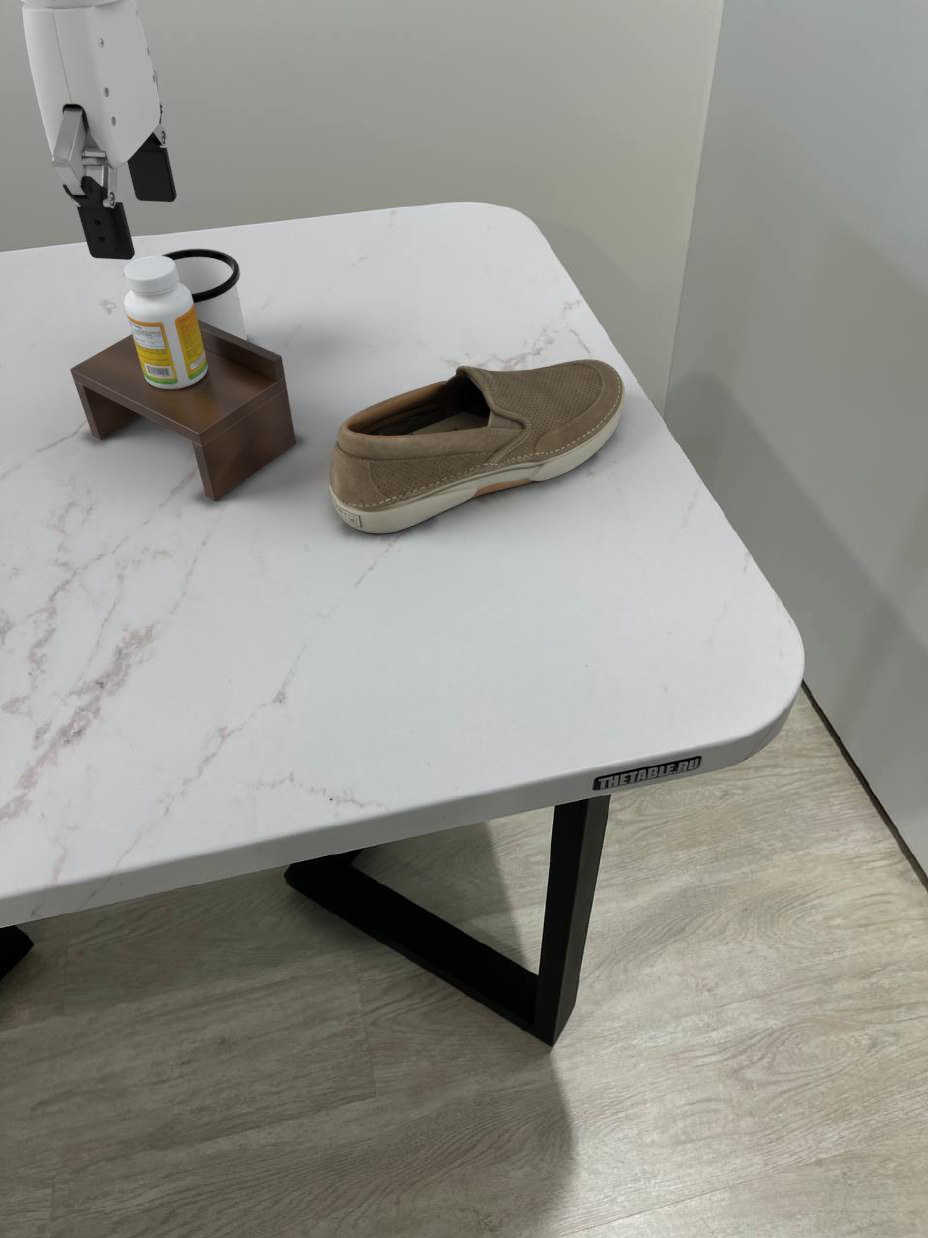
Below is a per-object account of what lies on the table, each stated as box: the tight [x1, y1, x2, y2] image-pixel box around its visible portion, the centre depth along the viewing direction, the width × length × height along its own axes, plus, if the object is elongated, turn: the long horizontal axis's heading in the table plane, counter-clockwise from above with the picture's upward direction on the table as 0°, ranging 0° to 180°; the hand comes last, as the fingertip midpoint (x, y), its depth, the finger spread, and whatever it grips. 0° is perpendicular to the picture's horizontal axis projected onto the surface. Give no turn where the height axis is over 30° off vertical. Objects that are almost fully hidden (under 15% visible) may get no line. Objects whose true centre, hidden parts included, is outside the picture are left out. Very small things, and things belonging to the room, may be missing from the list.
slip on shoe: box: [328, 358, 626, 534], centre depth 86 cm, size 30×11×9 cm, turn 121°
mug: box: [160, 248, 248, 341], centre depth 99 cm, size 12×10×9 cm
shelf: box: [69, 319, 297, 502], centre depth 89 cm, size 10×16×9 cm, turn 54°
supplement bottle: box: [123, 255, 207, 389], centre depth 83 cm, size 5×5×10 cm
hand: (136, 227), depth 77 cm, fingers open, 9 cm apart
